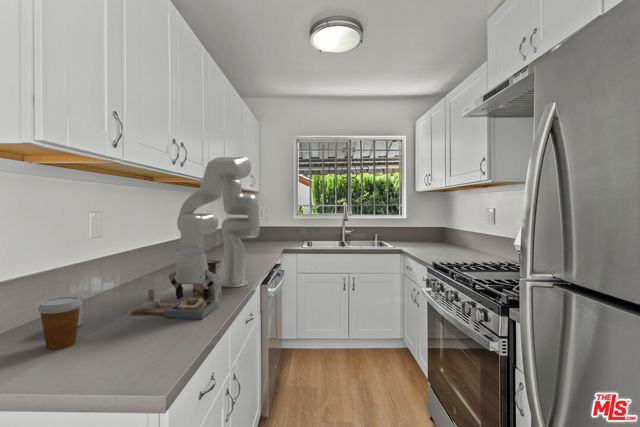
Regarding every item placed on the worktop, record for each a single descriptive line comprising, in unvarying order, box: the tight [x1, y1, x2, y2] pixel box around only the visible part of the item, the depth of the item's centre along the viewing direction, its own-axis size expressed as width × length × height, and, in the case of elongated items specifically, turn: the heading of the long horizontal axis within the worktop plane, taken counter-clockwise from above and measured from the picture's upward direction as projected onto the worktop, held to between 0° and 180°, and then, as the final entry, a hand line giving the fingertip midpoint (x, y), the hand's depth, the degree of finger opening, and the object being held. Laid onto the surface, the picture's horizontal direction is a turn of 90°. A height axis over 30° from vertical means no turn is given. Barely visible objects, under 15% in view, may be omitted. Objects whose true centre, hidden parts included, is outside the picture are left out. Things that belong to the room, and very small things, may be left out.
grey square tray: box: [164, 299, 219, 320], centre depth 124 cm, size 13×13×2 cm
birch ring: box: [178, 296, 206, 310], centre depth 124 cm, size 7×9×2 cm
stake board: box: [131, 288, 182, 316], centre depth 128 cm, size 14×12×8 cm
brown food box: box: [192, 259, 222, 304], centre depth 136 cm, size 9×6×16 cm
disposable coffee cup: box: [37, 296, 82, 351], centre depth 95 cm, size 10×10×12 cm
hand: (193, 299), depth 124 cm, fingers open, 9 cm apart
